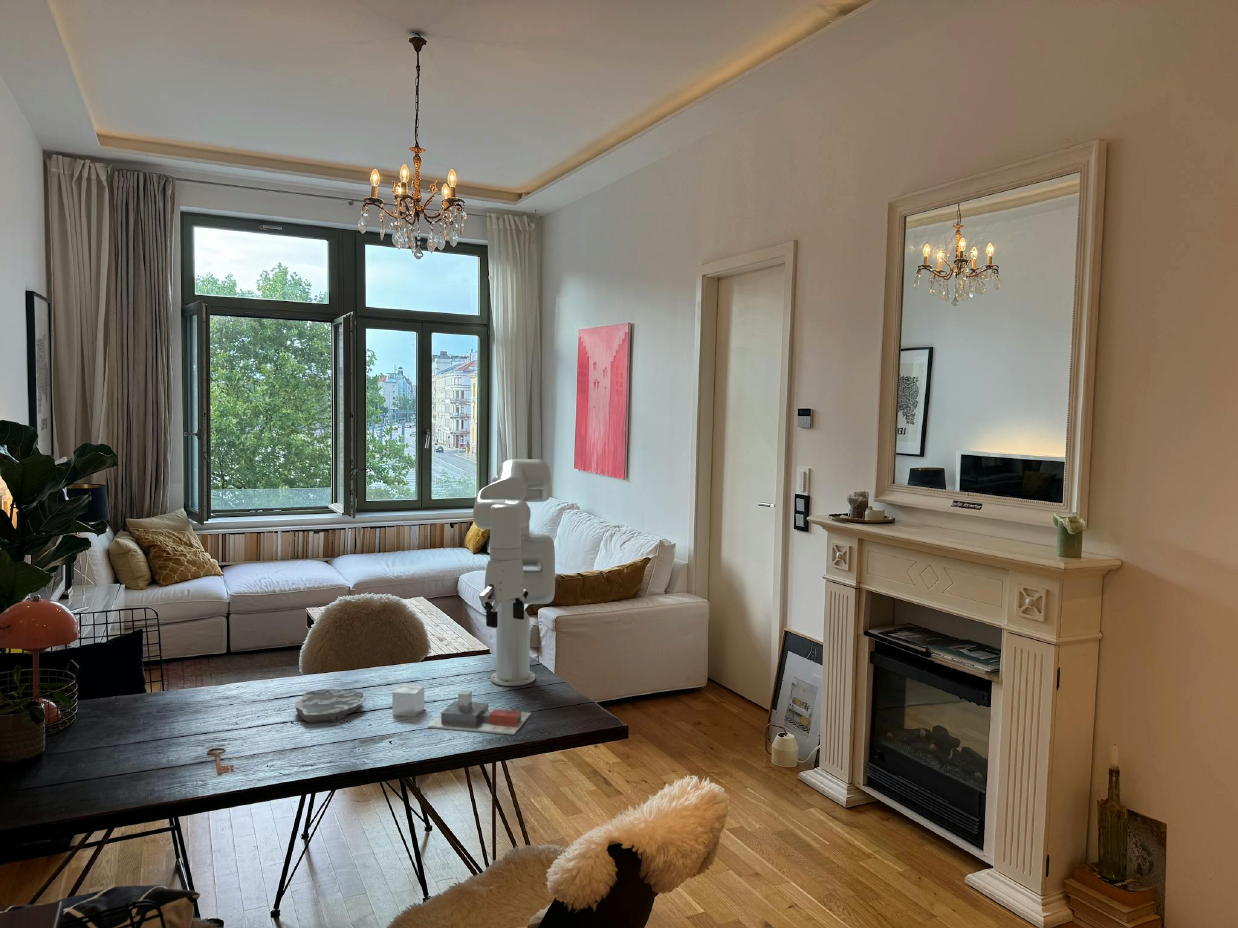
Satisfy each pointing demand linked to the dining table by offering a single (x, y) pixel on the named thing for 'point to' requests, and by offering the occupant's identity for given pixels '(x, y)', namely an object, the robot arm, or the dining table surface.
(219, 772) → the key
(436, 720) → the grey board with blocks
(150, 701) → the dining table surface
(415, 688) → the light grey cube
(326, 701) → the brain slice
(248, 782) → the dining table surface
